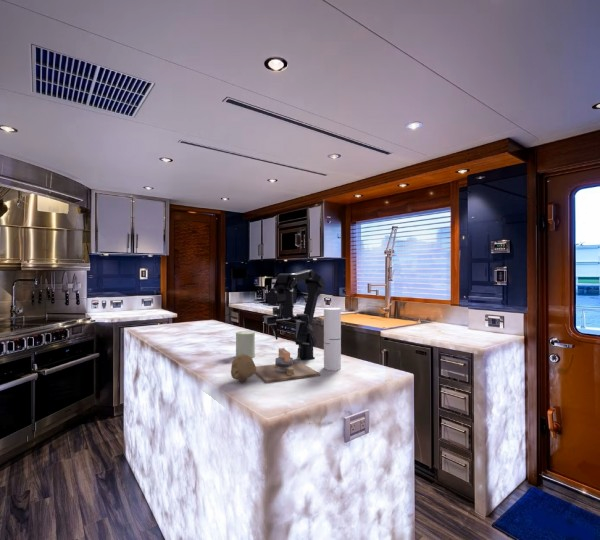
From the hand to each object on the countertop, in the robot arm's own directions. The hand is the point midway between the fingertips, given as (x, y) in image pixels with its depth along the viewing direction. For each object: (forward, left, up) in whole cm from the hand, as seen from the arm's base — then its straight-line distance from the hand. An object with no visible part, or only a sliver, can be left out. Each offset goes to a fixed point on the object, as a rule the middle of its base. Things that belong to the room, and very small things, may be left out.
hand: (286, 338), depth 154 cm
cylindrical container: (-16, +12, -12) cm, 23 cm away
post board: (+5, +10, -12) cm, 16 cm away
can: (+12, -23, -12) cm, 29 cm away
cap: (+5, +10, -8) cm, 14 cm away
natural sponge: (+23, +15, -12) cm, 30 cm away
